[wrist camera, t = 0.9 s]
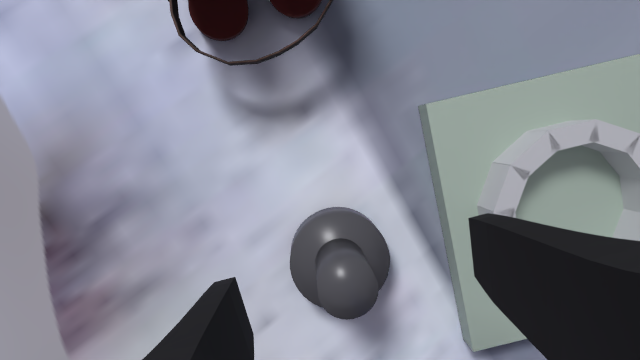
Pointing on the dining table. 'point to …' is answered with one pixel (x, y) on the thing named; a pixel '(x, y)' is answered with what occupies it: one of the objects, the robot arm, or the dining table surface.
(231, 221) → the dining table surface
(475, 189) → the mount board
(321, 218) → the joystick
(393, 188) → the dining table surface
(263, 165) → the dining table surface
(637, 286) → the robot arm
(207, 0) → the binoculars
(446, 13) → the dining table surface
